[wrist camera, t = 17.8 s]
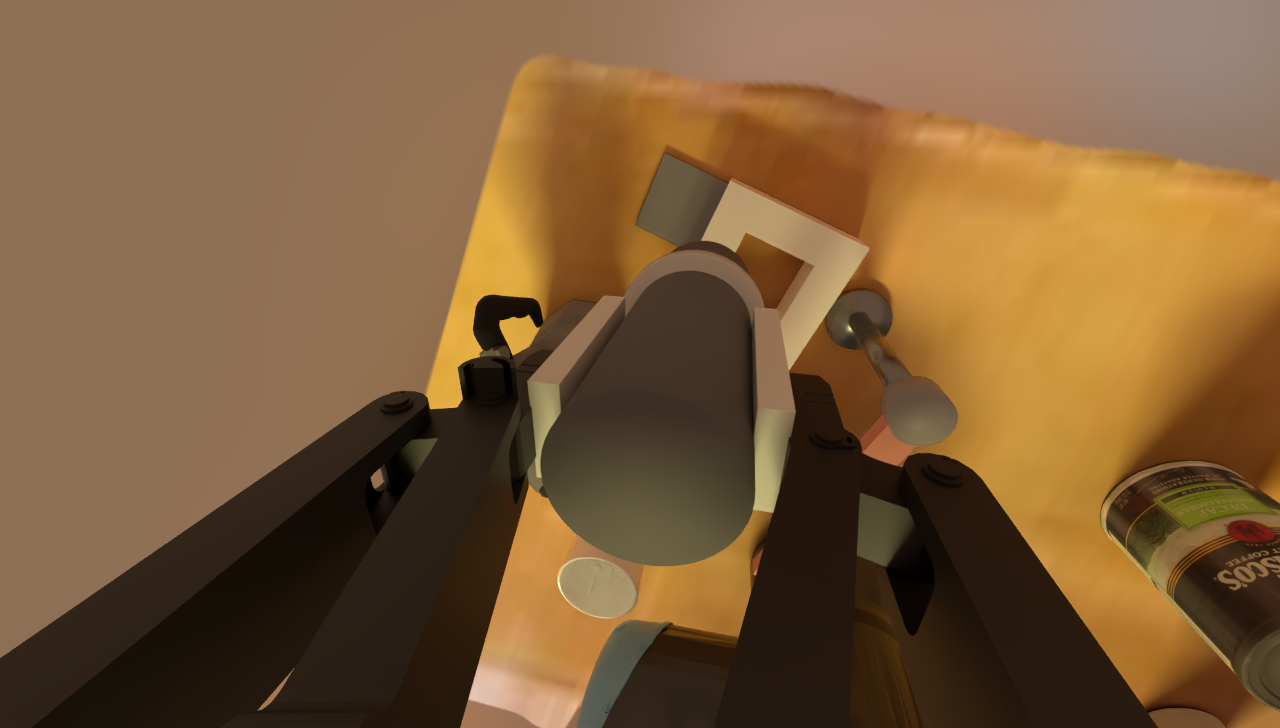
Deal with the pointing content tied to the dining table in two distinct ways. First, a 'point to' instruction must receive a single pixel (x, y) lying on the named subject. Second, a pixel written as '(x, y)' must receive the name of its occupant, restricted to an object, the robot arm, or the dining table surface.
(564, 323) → the coffeepot
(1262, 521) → the coffee can
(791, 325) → the socket block
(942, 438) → the pink grey-tipped stick
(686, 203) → the coaster
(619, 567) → the white cup
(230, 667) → the robot arm
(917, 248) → the dining table surface
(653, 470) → the plug
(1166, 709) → the travel mug
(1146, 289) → the dining table surface
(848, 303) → the post
